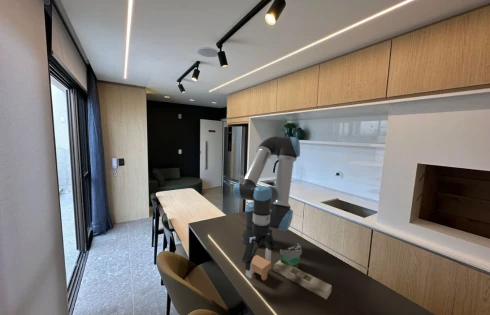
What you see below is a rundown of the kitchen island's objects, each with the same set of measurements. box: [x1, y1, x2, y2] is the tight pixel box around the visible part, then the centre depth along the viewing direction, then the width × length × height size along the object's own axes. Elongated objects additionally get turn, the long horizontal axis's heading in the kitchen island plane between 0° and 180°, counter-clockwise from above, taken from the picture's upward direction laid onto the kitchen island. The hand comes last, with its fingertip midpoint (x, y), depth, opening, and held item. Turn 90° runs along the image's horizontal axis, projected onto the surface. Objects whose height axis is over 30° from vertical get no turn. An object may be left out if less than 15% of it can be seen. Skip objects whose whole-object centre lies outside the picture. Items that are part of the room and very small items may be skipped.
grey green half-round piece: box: [278, 242, 303, 269], centre depth 95 cm, size 12×6×10 cm, turn 123°
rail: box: [273, 259, 333, 300], centre depth 86 cm, size 24×5×3 cm, turn 48°
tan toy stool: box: [251, 254, 272, 282], centre depth 89 cm, size 8×6×6 cm
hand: (258, 269), depth 88 cm, fingers open, 13 cm apart
